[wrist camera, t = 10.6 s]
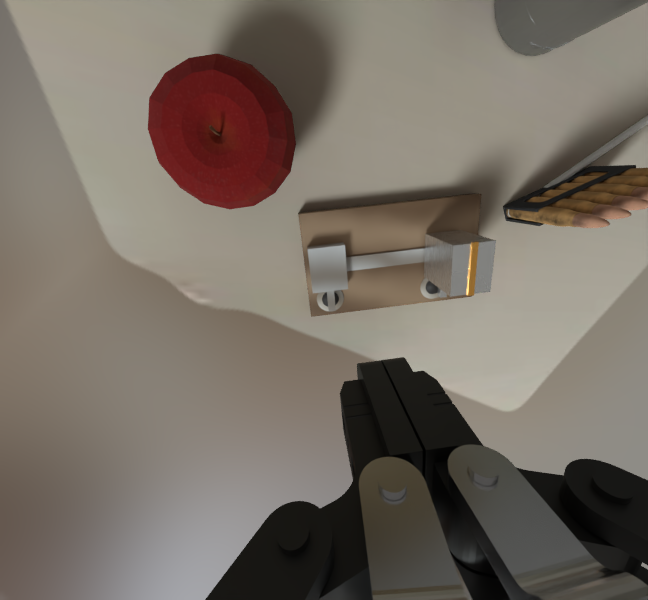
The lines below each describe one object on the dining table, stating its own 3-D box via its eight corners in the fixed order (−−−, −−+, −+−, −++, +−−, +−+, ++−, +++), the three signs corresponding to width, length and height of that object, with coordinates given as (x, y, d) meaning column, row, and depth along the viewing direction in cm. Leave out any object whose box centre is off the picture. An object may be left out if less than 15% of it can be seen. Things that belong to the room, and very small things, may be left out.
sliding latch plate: (298, 212, 34) (298, 216, 31) (473, 193, 35) (489, 194, 32) (310, 311, 38) (311, 321, 36) (465, 292, 39) (479, 300, 36)
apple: (178, 186, 32) (118, 190, 21) (189, 67, 28) (124, -2, 18) (282, 213, 34) (277, 230, 23) (305, 105, 30) (311, 64, 19)
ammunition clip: (592, 165, 35) (731, 159, 24) (593, 181, 36) (729, 182, 24) (502, 206, 36) (596, 218, 25) (505, 221, 36) (598, 239, 25)
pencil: (674, 107, 33) (547, 194, 35) (665, 105, 34) (541, 190, 36) (678, 100, 32) (548, 189, 35) (669, 97, 33) (542, 185, 35)
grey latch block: (425, 232, 34) (454, 244, 28) (460, 228, 34) (497, 239, 28) (423, 296, 37) (449, 320, 31) (456, 292, 37) (488, 315, 31)
